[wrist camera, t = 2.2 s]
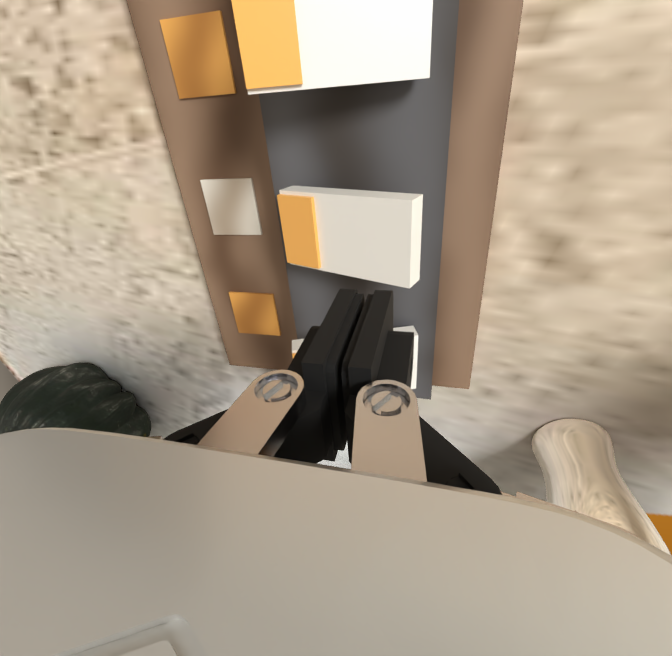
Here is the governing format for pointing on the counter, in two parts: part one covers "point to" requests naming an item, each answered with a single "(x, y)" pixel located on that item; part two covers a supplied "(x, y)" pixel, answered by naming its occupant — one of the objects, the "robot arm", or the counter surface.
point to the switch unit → (335, 173)
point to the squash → (72, 403)
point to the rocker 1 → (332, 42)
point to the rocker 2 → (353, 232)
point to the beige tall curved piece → (589, 476)
